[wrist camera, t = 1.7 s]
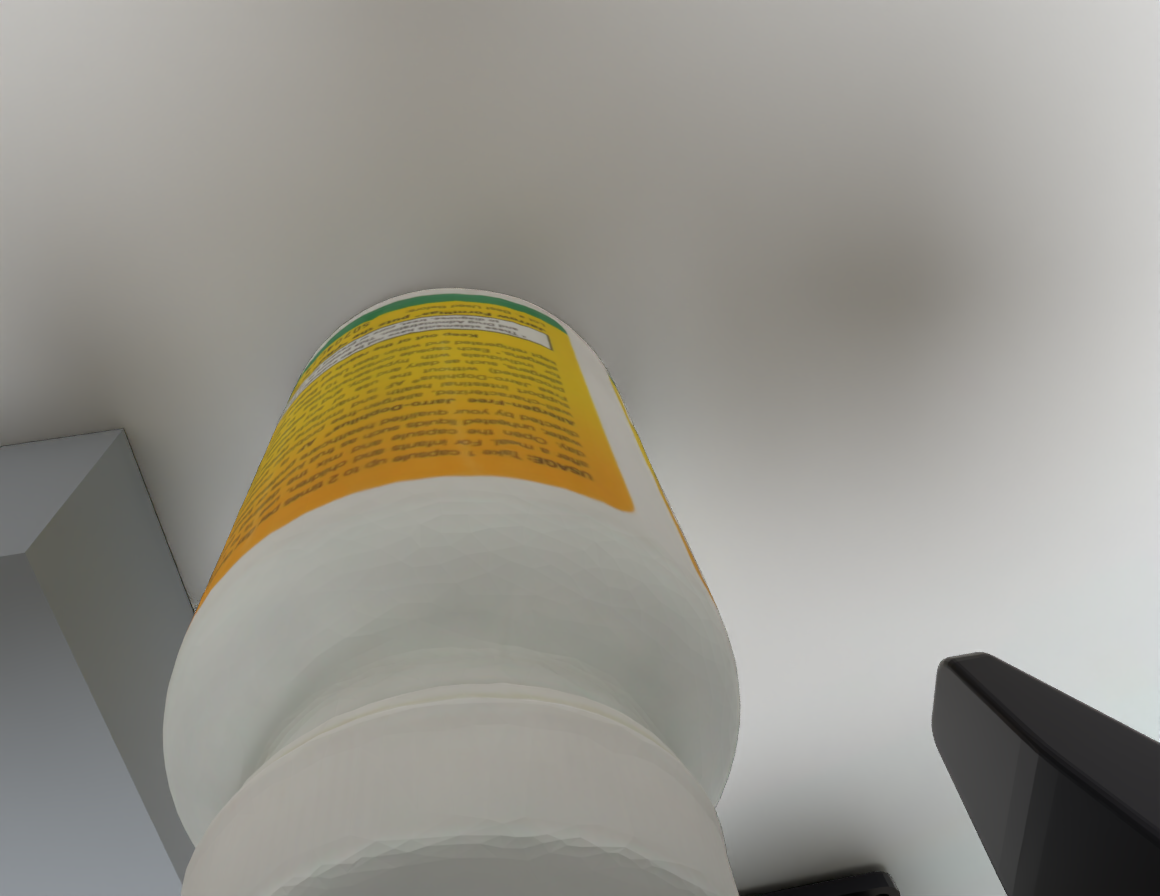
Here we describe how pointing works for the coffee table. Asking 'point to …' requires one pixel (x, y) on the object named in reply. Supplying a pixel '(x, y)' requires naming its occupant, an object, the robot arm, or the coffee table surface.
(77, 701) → the socket block
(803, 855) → the coffee table surface
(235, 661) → the supplement bottle
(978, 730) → the robot arm
